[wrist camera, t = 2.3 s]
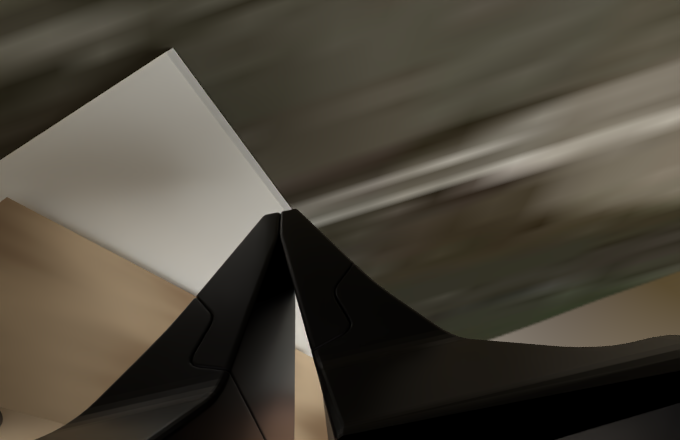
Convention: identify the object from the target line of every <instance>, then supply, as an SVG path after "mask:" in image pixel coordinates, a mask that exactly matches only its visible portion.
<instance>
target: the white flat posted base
mask: <svg viewBox="0 0 680 440" xmlns="http://www.w3.org/2000/svg"><path fill="white" fill-rule="evenodd" d="M6 197H8V198H10V199H12V200H14V201H16V202H17V203H19V204H21V205H23V206H25V207H27V208H29V209H31V210H33V211H35V212H36V213H38V214H40V215H42V216H44V217H46V218H48V219H50V220H52V221H54V222H55V223H57V224H59V225H61V226H63V227H65V228H67V229H69V230H71V231H73V232H74V233H76V234H78V235H80V236H82V237H84V238H86V239H88V240H90V241H92V242H93V243H95V244H97V245H99V246H101V247H103V248H105V249H107V250H109V251H111V252H112V253H114V254H116V255H118V256H120V257H122V258H124V259H126V260H128V261H130V262H131V263H133V264H135V265H137V266H139V267H141V268H143V269H145V270H147V271H149V272H150V273H152V274H154V275H156V276H158V277H160V278H162V279H164V280H166V281H168V282H169V283H171V284H173V285H175V286H177V287H179V288H181V289H183V290H185V291H187V292H188V293H190V294H192V295H194V296H196V295H197V294H198V293H199V292H200V291H201V289H202V288H203V287H204V286H205V285H206V284H207V282H208V281H209V280H210V279H211V278H212V276H213V275H214V274H215V273H216V272H217V270H218V269H219V268H220V267H221V266H222V265H223V263H224V262H225V261H226V260H227V259H228V257H229V256H230V255H231V254H232V253H233V251H234V250H235V249H236V248H237V247H238V245H239V244H240V243H241V242H242V241H243V240H244V238H245V237H246V236H247V235H248V234H249V232H250V231H251V230H252V229H253V228H254V226H255V225H256V224H257V223H258V222H259V220H260V219H261V218H262V217H263V216H264V215H266V214H271V213H276V212H278V213H280V214H281V212H282V211H286V210H291V208H290V206H289V205H288V203H287V202H286V201H285V199H284V198H283V197H282V195H281V194H280V193H279V191H278V190H277V189H276V187H275V186H274V184H273V183H272V182H271V180H270V179H269V178H268V176H267V175H266V174H265V172H264V171H263V170H262V168H261V167H260V165H259V164H258V163H257V161H256V160H255V159H254V157H253V156H252V155H251V153H250V152H249V151H248V149H247V148H246V146H245V145H244V144H243V142H242V141H241V140H240V138H239V137H238V136H237V134H236V133H235V132H234V130H233V129H232V127H231V126H230V125H229V123H228V122H227V121H226V119H225V118H224V117H223V115H222V114H221V112H220V111H219V110H218V108H217V107H216V106H215V104H214V103H213V102H212V100H211V99H210V98H209V96H208V95H207V93H206V92H205V91H204V89H203V88H202V87H201V85H200V84H199V83H198V81H197V80H196V79H195V77H194V76H193V74H192V73H191V72H190V70H189V69H188V68H187V66H186V65H185V64H184V62H183V61H182V60H181V58H180V57H179V55H178V54H177V53H176V51H175V50H174V49H173V48H172V49H170V50H168V51H167V52H165V53H163V54H162V55H160V56H159V57H157V58H156V59H154V60H153V61H151V62H150V63H148V64H147V65H145V66H144V67H142V68H141V69H139V70H137V71H136V72H134V73H133V74H131V75H130V76H128V77H127V78H125V79H124V80H122V81H121V82H119V83H118V84H116V85H114V86H113V87H111V88H110V89H108V90H107V91H105V92H104V93H102V94H101V95H99V96H98V97H96V98H95V99H93V100H92V101H90V102H88V103H87V104H85V105H84V106H82V107H81V108H79V109H78V110H76V111H75V112H73V113H72V114H70V115H69V116H67V117H66V118H64V119H62V120H61V121H59V122H58V123H56V124H55V125H53V126H52V127H50V128H49V129H47V130H46V131H44V132H43V133H41V134H39V135H38V136H36V137H35V138H33V139H32V140H30V141H29V142H27V143H26V144H24V145H23V146H21V147H20V148H18V149H17V150H15V151H13V152H12V153H10V154H9V155H7V156H6V157H4V158H3V159H1V160H0V202H1V201H2V200H4V199H5V198H6ZM295 349H297V350H299V351H301V352H303V353H304V354H306V355H308V356H310V357H312V358H313V356H312V353H311V349H310V346H309V342H308V339H307V335H306V331H305V328H304V324H303V320H302V317H301V313H300V310H299V306H298V302H297V299H296V295H295ZM323 402H324V398H323ZM324 410H325V418H326V426H327V434H328V440H334V436H333V433H332V429H331V425H330V421H329V417H328V413H327V409H326V405H325V402H324Z"/></svg>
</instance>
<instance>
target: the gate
mask: <svg viewBox="0 0 680 440" xmlns="http://www.w3.org/2000/svg"><path fill="white" fill-rule="evenodd" d="M194 298H196V296H194V295H192V294H190V293H188V292H187V291H185V290H183V289H181V288H179V287H177V286H175V285H173V284H171V283H169V282H168V281H166V280H164V279H162V278H160V277H158V276H156V275H154V274H152V273H150V272H149V271H147V270H145V269H143V268H141V267H139V266H137V265H135V264H133V263H131V262H130V261H128V260H126V259H124V258H122V257H120V256H118V255H116V254H114V253H112V252H111V251H109V250H107V249H105V248H103V247H101V246H99V245H97V244H95V243H93V242H92V241H90V240H88V239H86V238H84V237H82V236H80V235H78V234H76V233H74V232H73V231H71V230H69V229H67V228H65V227H63V226H61V225H59V224H57V223H55V222H54V221H52V220H50V219H48V218H46V217H44V216H42V215H40V214H38V213H36V212H35V211H33V210H31V209H29V208H27V207H25V206H23V205H21V204H19V203H17V202H16V201H14V200H12V199H10V198H8V197H6V198H5V199H4V200H2V201H1V202H0V440H35V439H37V438H40V437H42V436H45V435H47V434H49V433H51V432H53V431H55V430H57V429H58V428H60V427H62V426H64V425H65V424H67V423H68V422H70V421H71V420H73V419H74V418H76V417H77V416H79V415H80V414H81V413H82V412H84V411H85V410H86V409H87V408H89V407H90V406H91V405H92V404H93V403H94V402H95V401H96V400H97V399H98V398H99V397H100V396H101V395H102V394H103V393H104V392H105V391H106V390H107V389H108V388H109V387H110V386H111V385H112V384H113V383H114V382H115V381H116V380H117V379H118V378H119V377H120V376H121V375H122V374H123V373H124V372H125V371H126V370H127V369H128V368H129V367H130V366H131V365H132V364H133V363H134V362H135V361H136V360H137V359H138V358H139V357H140V356H141V355H142V354H143V353H144V352H145V351H146V350H147V349H148V348H149V347H150V346H151V345H152V344H153V343H154V342H155V341H156V340H157V339H158V338H159V337H160V336H161V335H162V334H163V333H164V332H165V331H166V330H167V329H168V328H169V326H170V325H171V324H172V323H173V322H174V321H175V320H176V319H177V317H178V316H179V315H180V314H181V313H182V312H183V311H184V310H185V308H186V307H187V306H188V305H189V304H190V302H191V301H192V300H193V299H194ZM294 440H328V434H327V426H326V418H325V410H324V402H323V394H322V390H321V386H320V382H319V379H318V375H317V371H316V367H315V364H314V360H313V358H312V357H310V356H308V355H306V354H304V353H303V352H301V351H299V350H297V349H295V431H294Z"/></svg>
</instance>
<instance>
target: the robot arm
mask: <svg viewBox="0 0 680 440" xmlns="http://www.w3.org/2000/svg"><path fill="white" fill-rule="evenodd" d="M295 295H296V299H297V302H298V306H299V310H300V313H301V317H302V320H303V324H304V328H305V331H306V335H307V339H308V342H309V346H310V349H311V353H312V356H313V360H314V364H315V367H316V371H317V375H318V379H319V382H320V386H321V390H322V394H323V398H324V402H325V405H326V409H327V413H328V417H329V421H330V425H331V429H332V433H333V436H334V440H680V336H679V335H666V336H659V337H652V338H648V339H644V340H639V341H636V342H631V343H626V344H620V345H614V346H602V347H559V346H547V345H535V344H523V343H510V342H499V341H487V340H475V339H466V338H462V337H458V336H456V335H453V334H451V333H449V332H447V331H445V330H443V329H441V328H440V327H438V326H437V325H435V324H434V323H432V322H431V321H429V320H428V319H426V318H425V317H423V316H422V315H421V314H419V313H418V312H416V311H415V310H413V309H412V308H410V307H409V306H408V305H406V304H405V303H403V302H402V301H400V300H399V299H397V298H396V297H394V296H393V295H392V294H390V293H389V292H388V291H386V290H385V289H383V288H382V287H381V286H379V285H378V284H377V283H376V282H374V281H373V280H372V279H371V278H370V277H369V276H367V275H366V274H365V273H364V272H363V271H362V270H361V269H360V268H359V267H358V266H357V265H355V264H354V263H353V262H352V261H351V260H350V259H349V258H348V257H347V256H346V255H345V254H344V253H343V252H342V251H341V250H340V249H338V248H337V247H336V246H335V245H334V244H333V243H332V242H331V241H330V240H329V239H328V238H327V237H326V236H325V235H324V234H323V233H322V232H320V231H319V230H318V229H317V228H316V227H315V226H314V225H313V224H312V223H311V222H310V221H309V220H308V219H307V218H306V217H305V216H304V215H302V214H301V213H300V212H299V211H298V210H297V209H291V210H286V211H282V212H281V214H280V213H278V212H276V213H271V214H266V215H264V216H263V217H262V218H261V219H260V220H259V222H258V223H257V224H256V225H255V226H254V228H253V229H252V230H251V231H250V232H249V234H248V235H247V236H246V237H245V238H244V240H243V241H242V242H241V243H240V244H239V245H238V247H237V248H236V249H235V250H234V251H233V253H232V254H231V255H230V256H229V257H228V259H227V260H226V261H225V262H224V263H223V265H222V266H221V267H220V268H219V269H218V270H217V272H216V273H215V274H214V275H213V276H212V278H211V279H210V280H209V281H208V282H207V284H206V285H205V286H204V287H203V288H202V289H201V291H200V292H199V293H198V294H197V295H196V298H194V299H193V300H192V301H191V302H190V304H189V305H188V306H187V307H186V308H185V310H184V311H183V312H182V313H181V314H180V315H179V316H178V317H177V319H176V320H175V321H174V322H173V323H172V324H171V325H170V326H169V328H168V329H167V330H166V331H165V332H164V333H163V334H162V335H161V336H160V337H159V338H158V339H157V340H156V341H155V342H154V343H153V344H152V345H151V346H150V347H149V348H148V349H147V350H146V351H145V352H144V353H143V354H142V355H141V356H140V357H139V358H138V359H137V360H136V361H135V362H134V363H133V364H132V365H131V366H130V367H129V368H128V369H127V370H126V371H125V372H124V373H123V374H122V375H121V376H120V377H119V378H118V379H117V380H116V381H115V382H114V383H113V384H112V385H111V386H110V387H109V388H108V389H107V390H106V391H105V392H104V393H103V394H102V395H101V396H100V397H99V398H98V399H97V400H96V401H95V402H94V403H93V404H92V405H91V406H90V407H89V408H87V409H86V410H85V411H84V412H82V413H81V414H80V415H79V416H77V417H76V418H74V419H73V420H71V421H70V422H68V423H67V424H65V425H64V426H62V427H60V428H58V429H57V430H55V431H53V432H51V433H49V434H47V435H45V436H42V437H40V438H37V439H35V440H294V431H295Z"/></svg>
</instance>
